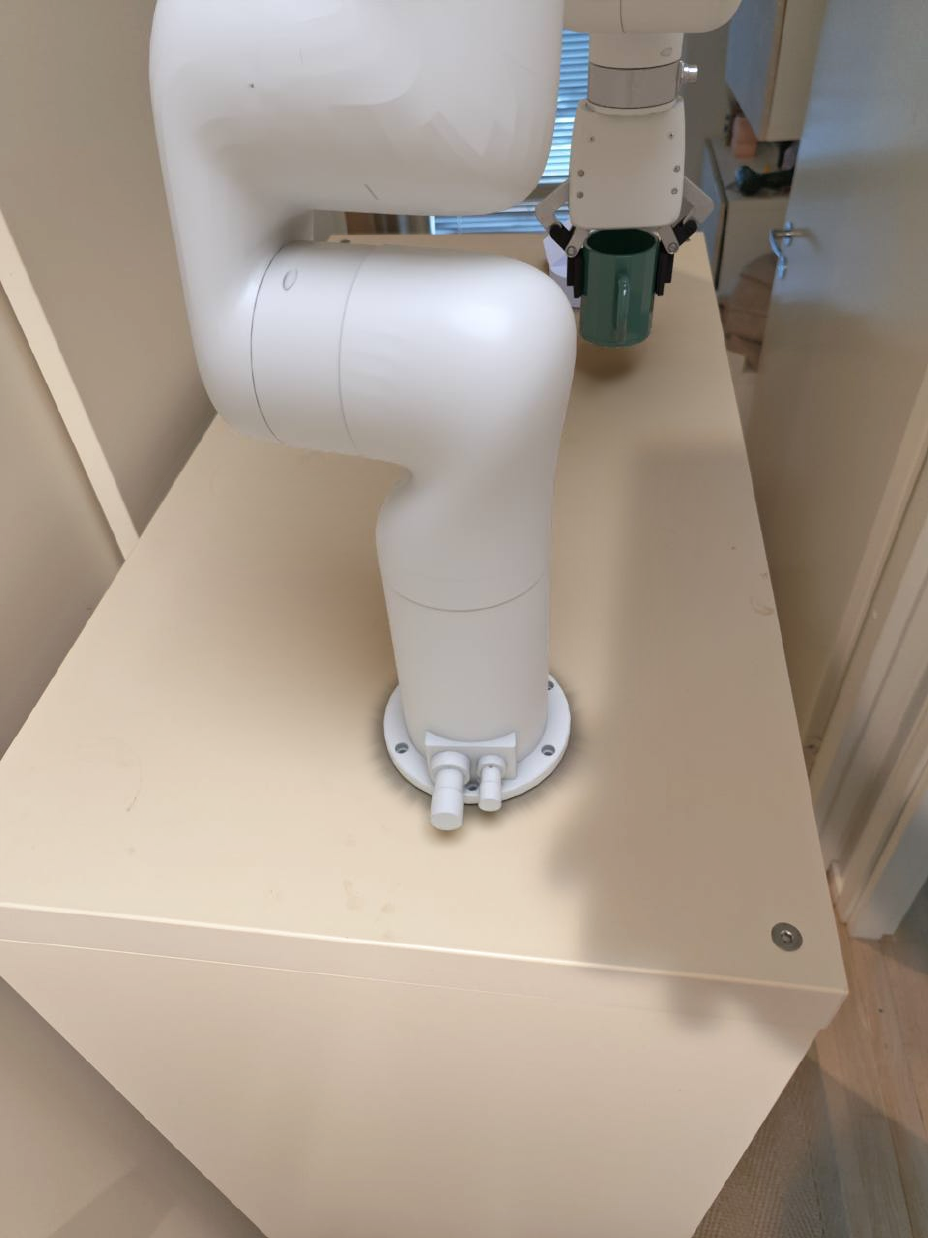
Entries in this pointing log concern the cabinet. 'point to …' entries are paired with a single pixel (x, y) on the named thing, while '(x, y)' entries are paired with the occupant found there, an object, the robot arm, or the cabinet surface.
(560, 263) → the wedge on round base
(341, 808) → the cabinet surface
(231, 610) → the cabinet surface
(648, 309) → the mug
